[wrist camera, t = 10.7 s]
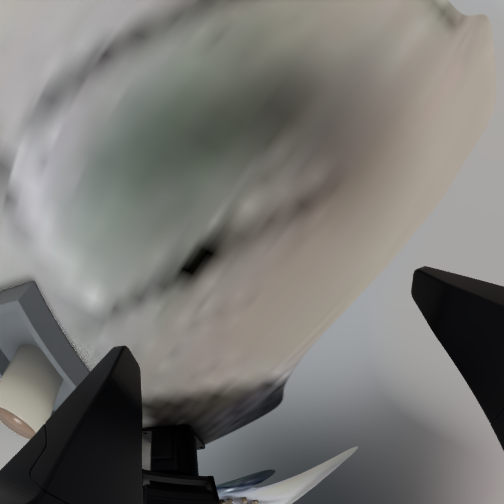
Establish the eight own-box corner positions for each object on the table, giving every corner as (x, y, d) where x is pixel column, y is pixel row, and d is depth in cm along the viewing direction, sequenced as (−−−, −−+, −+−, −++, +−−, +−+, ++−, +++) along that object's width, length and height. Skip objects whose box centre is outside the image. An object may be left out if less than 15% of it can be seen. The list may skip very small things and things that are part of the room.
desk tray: (121, 411, 25) (118, 431, 22) (52, 410, 24) (46, 427, 22) (34, 281, 18) (17, 300, 15) (-28, 300, 17) (-42, 316, 14)
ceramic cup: (74, 384, 22) (55, 446, 15) (38, 385, 22) (18, 439, 14) (42, 341, 19) (11, 405, 12) (8, 345, 19) (-22, 400, 12)
